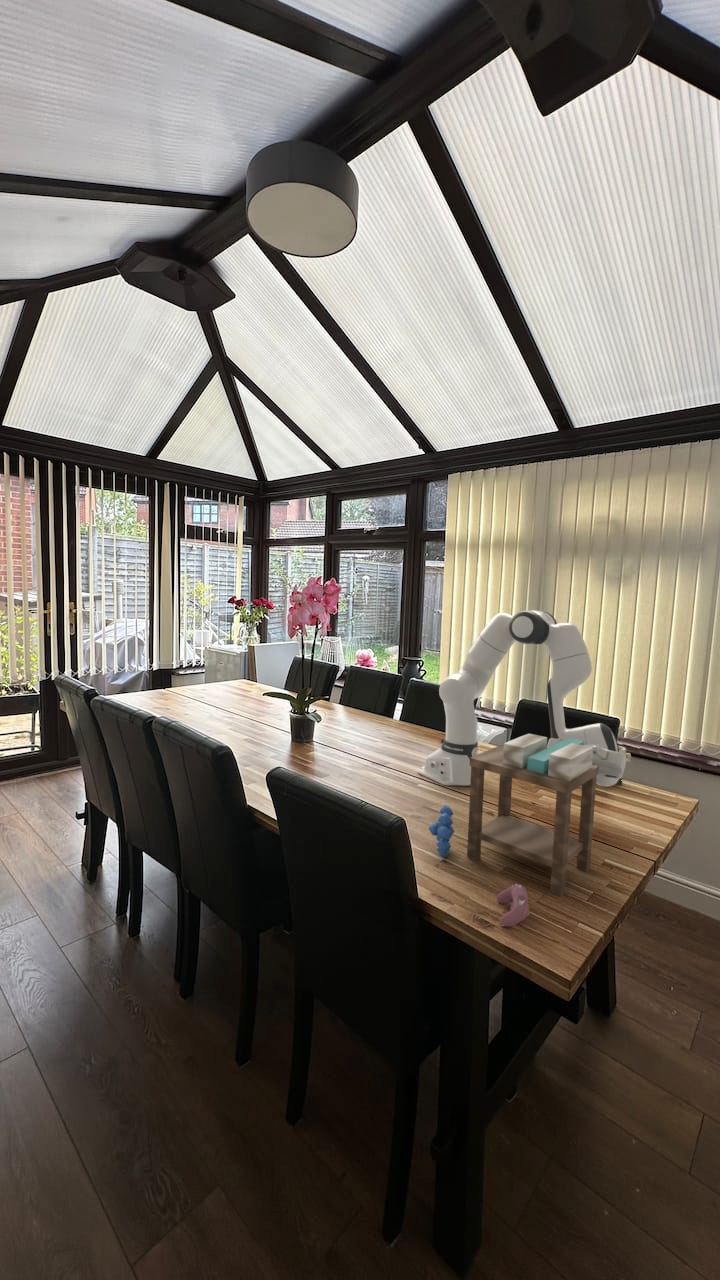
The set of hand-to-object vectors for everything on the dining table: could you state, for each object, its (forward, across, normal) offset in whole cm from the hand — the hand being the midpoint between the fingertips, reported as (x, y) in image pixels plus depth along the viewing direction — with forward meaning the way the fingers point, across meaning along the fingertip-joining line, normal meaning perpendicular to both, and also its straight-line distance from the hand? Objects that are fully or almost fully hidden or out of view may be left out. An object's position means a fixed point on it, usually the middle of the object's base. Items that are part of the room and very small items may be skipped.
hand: (576, 745), depth 141 cm
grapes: (+12, -22, +39) cm, 46 cm away
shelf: (+2, -4, +33) cm, 33 cm away
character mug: (-63, -8, -5) cm, 64 cm away
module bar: (+10, 0, +7) cm, 13 cm away
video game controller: (+22, +4, +44) cm, 50 cm away
